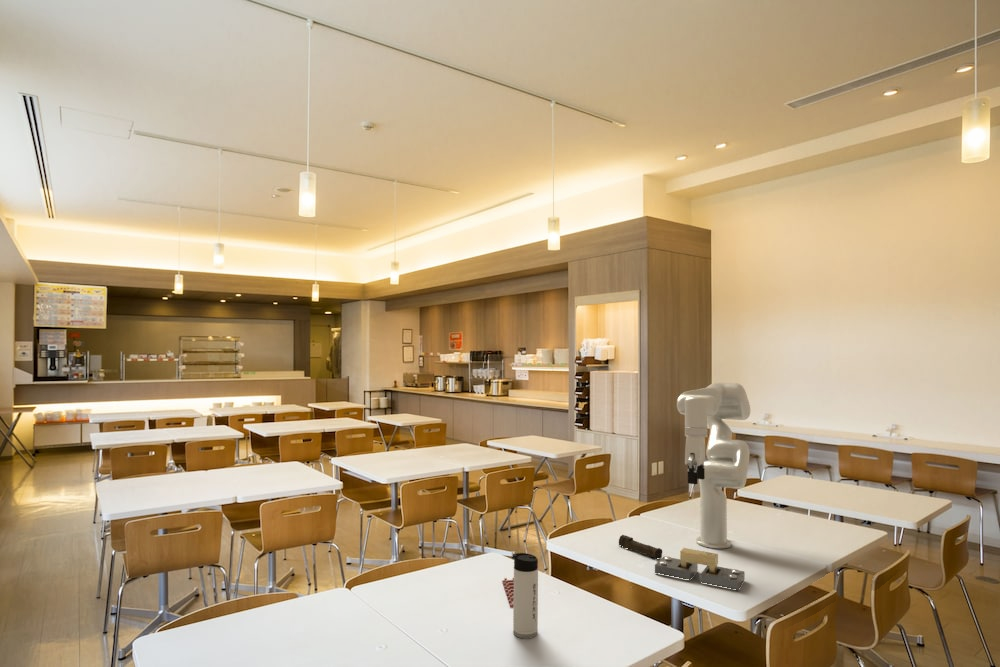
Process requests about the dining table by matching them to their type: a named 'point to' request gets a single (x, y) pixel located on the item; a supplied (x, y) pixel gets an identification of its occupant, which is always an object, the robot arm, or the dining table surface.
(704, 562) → the link
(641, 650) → the dining table surface
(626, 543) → the dark brown rod
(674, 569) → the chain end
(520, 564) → the travel mug
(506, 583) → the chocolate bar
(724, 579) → the block
